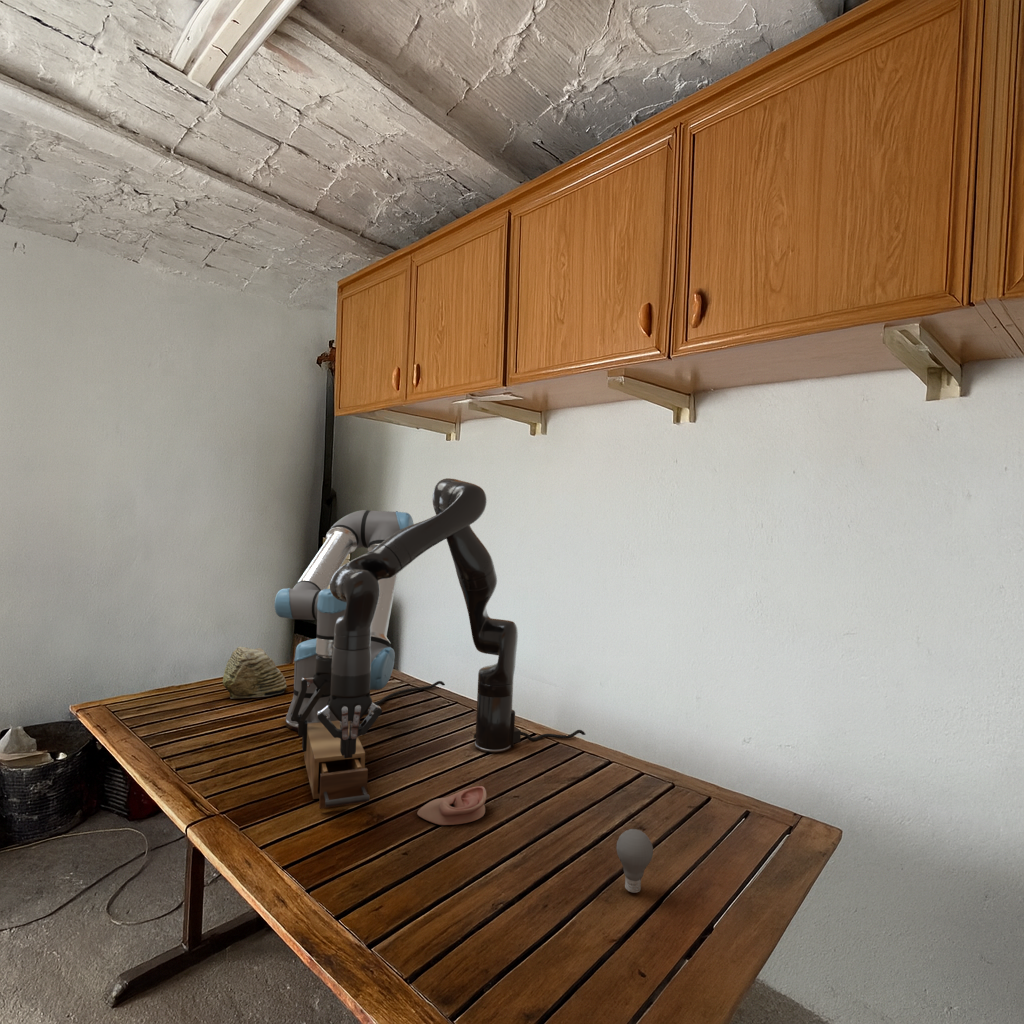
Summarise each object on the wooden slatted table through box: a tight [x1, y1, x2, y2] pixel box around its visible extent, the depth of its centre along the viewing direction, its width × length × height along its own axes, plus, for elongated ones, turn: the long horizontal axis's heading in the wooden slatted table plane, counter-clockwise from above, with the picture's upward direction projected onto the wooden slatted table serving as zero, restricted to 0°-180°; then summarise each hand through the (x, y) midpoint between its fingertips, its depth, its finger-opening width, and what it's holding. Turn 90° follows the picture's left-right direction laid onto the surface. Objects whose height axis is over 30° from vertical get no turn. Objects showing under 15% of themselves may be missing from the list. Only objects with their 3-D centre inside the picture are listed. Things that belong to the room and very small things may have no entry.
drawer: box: [318, 758, 371, 810], centre depth 135 cm, size 26×9×7 cm, turn 23°
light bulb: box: [615, 828, 654, 894], centre depth 106 cm, size 6×6×10 cm
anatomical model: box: [416, 785, 488, 826], centre depth 129 cm, size 13×4×12 cm
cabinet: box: [303, 721, 366, 800], centre depth 144 cm, size 22×10×9 cm, turn 23°
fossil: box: [222, 646, 288, 699], centre depth 198 cm, size 9×18×15 cm, turn 132°
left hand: (328, 746), depth 151 cm, fingers closed on cabinet, 10 cm apart
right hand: (347, 756), depth 125 cm, fingers closed
